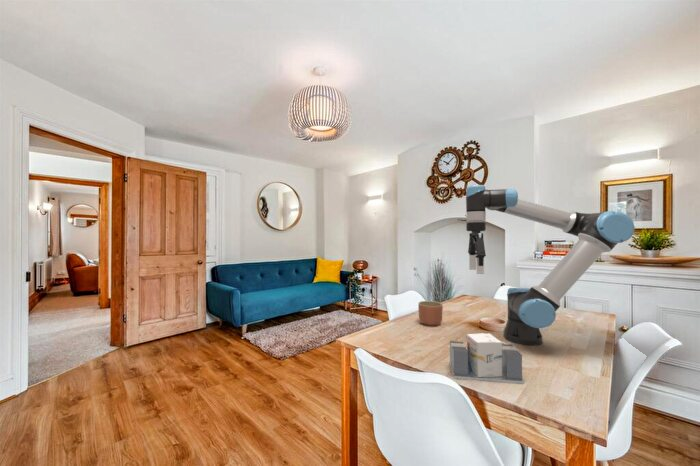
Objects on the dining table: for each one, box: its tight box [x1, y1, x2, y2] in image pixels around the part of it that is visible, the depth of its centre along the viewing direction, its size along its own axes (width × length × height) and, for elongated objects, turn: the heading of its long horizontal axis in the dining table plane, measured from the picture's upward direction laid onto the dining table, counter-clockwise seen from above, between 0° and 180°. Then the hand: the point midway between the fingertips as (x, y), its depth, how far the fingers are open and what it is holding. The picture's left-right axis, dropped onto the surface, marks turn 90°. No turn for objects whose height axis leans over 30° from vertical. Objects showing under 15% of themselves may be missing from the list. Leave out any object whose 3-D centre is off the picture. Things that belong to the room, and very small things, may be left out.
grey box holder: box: [449, 340, 524, 385], centre depth 101 cm, size 21×11×9 cm, turn 79°
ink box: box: [466, 332, 503, 377], centre depth 100 cm, size 9×8×12 cm
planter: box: [417, 300, 444, 327], centre depth 155 cm, size 12×12×11 cm
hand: (476, 271), depth 124 cm, fingers open, 13 cm apart
